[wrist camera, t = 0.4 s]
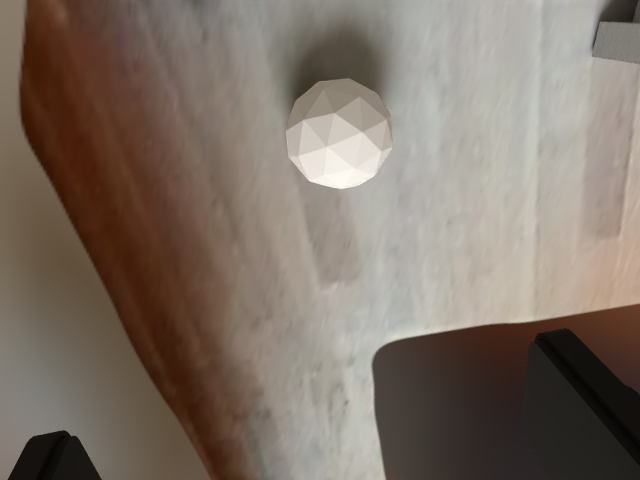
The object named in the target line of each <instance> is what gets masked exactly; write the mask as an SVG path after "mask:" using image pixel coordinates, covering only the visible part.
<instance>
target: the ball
mask: <svg viewBox="0 0 640 480" xmlns="http://www.w3.org/2000/svg"><path fill="white" fill-rule="evenodd" d="M286 137H287V148H288V157H289V158H290V159H291V160H292V161H293V163H294V164H295V165H296V166H297V167H298V168H299V170H300V171H301V172H302V173H303V174H304V176H305V177H306V178H307V179H308V180H309V181H310V182H314V183H318V184H321V185H325V186H328V187H334V188H340V189H344V188H349V187H354V186H358V185H360V184H362V183H363V182H365V181H367V180H368V179H370V178H372V177H373V176H375V174H376V173H377V171H378V170H379V168H380V166H381V165H382V163H383V162H384V160H385V159H386V157H387V155H388V154H389V152H390V151H391V149H392V148H393V141H392V128H391V116H390V113H389V111H388V110H387V108H386V106H385V105H384V103H383V102H382V100H381V98H380V97H379V95H378V94H377V93H376V92H374V91H372V90H370V89H369V88H367V87H365V86H363V85H361V84H359V83H357V82H355V81H353V80H351V79H350V78H346V79H337V80H327V81H318V82H317V83H316V84H315V85H314V86H312V87H311V88H310V89H309V90H308V91H306V92H305V93H304V94H303V95H302V96H301V97H299V98H298V99H297V100H296V101H295V103H294V106H293V109H292V111H291V114H290V117H289V119H288V122H287V126H286Z"/></svg>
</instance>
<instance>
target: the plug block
mask: <svg viewBox="0 0 640 480" xmlns="http://www.w3.org/2000/svg"><path fill="white" fill-rule="evenodd" d="M592 57H598V58H604V59H610V60H617V61H623V62H629V63H635V64H640V0H638V3H637V7H636V10H635V14H634V18H633V21H611V22H600V24H599V28H598V32H597V36H596V41H595V45H594V49H593V53H592Z"/></svg>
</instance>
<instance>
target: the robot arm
mask: <svg viewBox="0 0 640 480" xmlns="http://www.w3.org/2000/svg"><path fill="white" fill-rule="evenodd" d="M522 433H523V438H524V441H525V444H526V446H527V448H528V450H529V451H530V453H531V454H532V456H533V458H534V459H535V461H536V462H537V464H538V466H539V467H540V469H541V471H542V472H543V474H544V475H545V477H546V478H547V480H640V395H639V394H638V393H637V392H636V391H635V390H633V389H632V388H631V387H628V386H626V385H624V384H623V383H622V382H621V381H620V380H619V379H618V378H617V377H616V376H615V375H614V374H613V373H612V372H611V371H610V370H609V369H608V368H607V367H606V366H605V365H604V364H603V363H602V362H601V361H600V360H599V359H598V358H597V357H596V356H595V355H594V353H593V352H592V351H591V350H590V349H589V348H588V347H587V346H586V345H585V344H584V343H583V342H582V341H581V340H580V339H579V338H578V337H577V336H576V335H575V334H574V333H573V332H571V331H570V330H569V329H566V328H563V329H558V330H553V331H548V332H543V333H539V334H537V336H536V338H535V342H531V343H530V344H529V349H528V362H527V374H526V388H525V399H524V412H523V425H522ZM8 480H102V479H101V478H100V476H99V474H98V472H97V471H96V469H95V467H94V465H93V463H92V462H91V460H90V458H89V456H88V454H87V453H86V451H85V449H84V447H83V445H82V444H81V442H80V440H79V439H78V437H76V436H70V434H69V433H68V432H67V431H65V430H63V431H57V432H53V433H48V434H43V435H38V436H33V437H32V438H31V439H30V440H29V441H28V442H27V444H26V445H25V448H24V449H23V451H22V453H21V455H20V457H19V459H18V461H17V463H16V465H15V467H14V469H13V471H12V473H11V474H10V476H9V478H8Z"/></svg>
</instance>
